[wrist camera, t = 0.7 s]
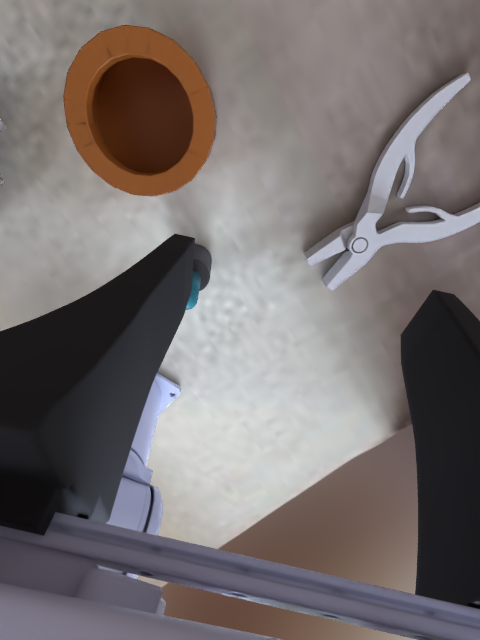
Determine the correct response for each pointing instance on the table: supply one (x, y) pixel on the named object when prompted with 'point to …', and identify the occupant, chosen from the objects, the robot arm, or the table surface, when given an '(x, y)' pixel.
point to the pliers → (362, 230)
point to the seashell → (0, 127)
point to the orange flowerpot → (139, 110)
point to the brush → (199, 273)
